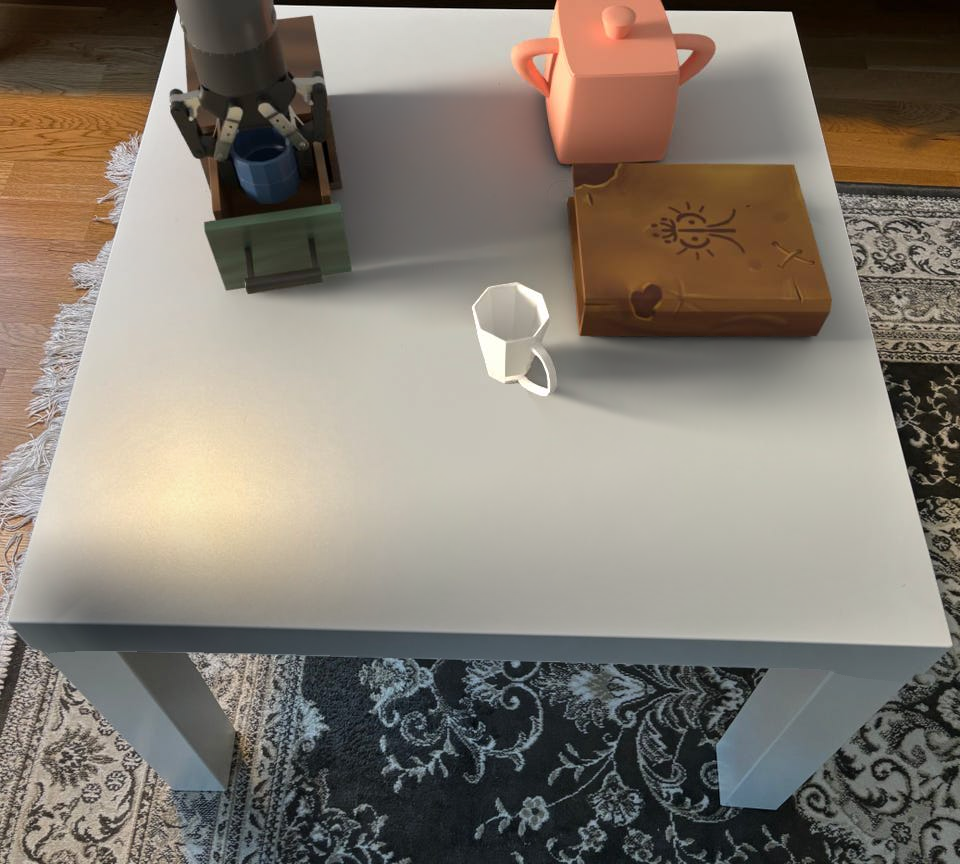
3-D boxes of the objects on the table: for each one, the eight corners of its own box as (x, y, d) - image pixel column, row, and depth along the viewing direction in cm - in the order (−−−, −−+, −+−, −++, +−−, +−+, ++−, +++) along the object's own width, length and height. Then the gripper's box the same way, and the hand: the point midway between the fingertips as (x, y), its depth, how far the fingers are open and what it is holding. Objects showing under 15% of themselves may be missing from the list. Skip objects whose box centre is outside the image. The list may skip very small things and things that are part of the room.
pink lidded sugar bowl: (708, 165, 99) (741, 56, 88) (513, 173, 98) (519, 63, 87) (676, 53, 110) (701, -59, 98) (499, 59, 109) (503, -53, 97)
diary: (578, 343, 86) (585, 305, 81) (566, 204, 96) (572, 163, 91) (813, 342, 87) (834, 304, 82) (778, 204, 96) (794, 162, 91)
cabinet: (342, 188, 97) (330, 110, 88) (215, 206, 96) (189, 128, 87) (325, 94, 105) (312, 14, 96) (207, 109, 104) (183, 30, 95)
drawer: (359, 312, 87) (349, 252, 80) (229, 332, 86) (207, 273, 78) (334, 172, 97) (323, 108, 90) (217, 188, 96) (197, 125, 88)
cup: (515, 324, 88) (519, 269, 81) (579, 393, 83) (589, 341, 76) (456, 357, 85) (455, 304, 78) (519, 430, 81) (524, 380, 74)
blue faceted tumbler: (243, 213, 86) (230, 169, 81) (239, 169, 89) (226, 124, 84) (305, 204, 87) (296, 160, 82) (299, 161, 90) (289, 116, 85)
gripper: (312, -16, 75) (338, 142, 90) (139, 4, 74) (193, 162, 88) (323, 39, 71) (347, 195, 86) (140, 61, 70) (196, 216, 84)
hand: (269, 177), depth 87 cm, fingers closed on blue faceted tumbler, 6 cm apart
